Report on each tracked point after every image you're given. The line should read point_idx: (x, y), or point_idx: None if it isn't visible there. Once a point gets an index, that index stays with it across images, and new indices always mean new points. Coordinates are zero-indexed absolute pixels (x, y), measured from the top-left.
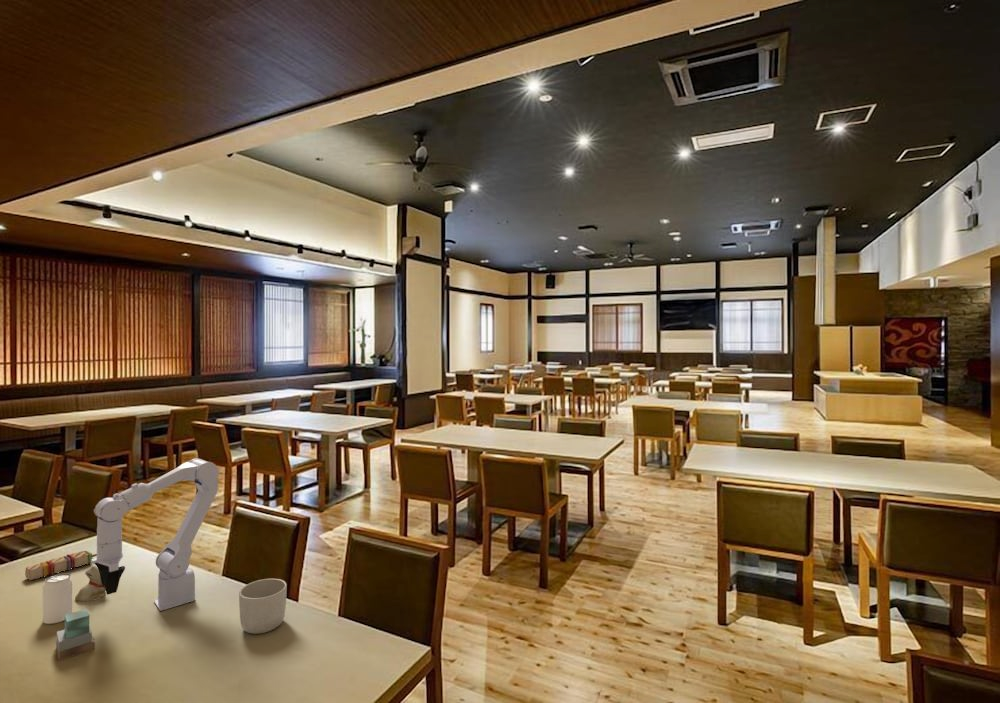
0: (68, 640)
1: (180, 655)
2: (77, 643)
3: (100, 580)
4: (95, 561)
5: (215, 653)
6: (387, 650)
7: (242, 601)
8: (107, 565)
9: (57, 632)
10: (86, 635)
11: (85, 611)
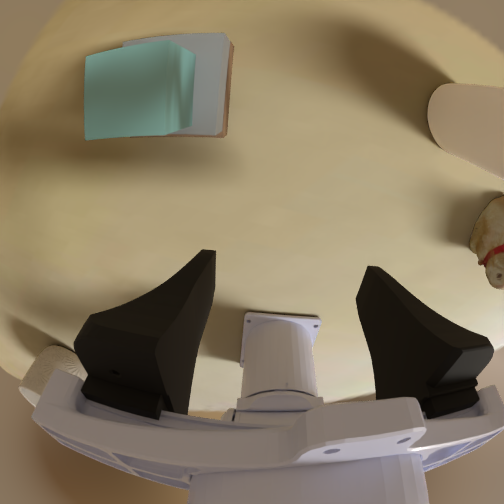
0: None
1: (29, 265)
2: None
3: (498, 266)
4: (296, 446)
5: (23, 297)
6: (8, 367)
7: (29, 381)
8: (80, 420)
9: (215, 34)
10: None
11: (133, 127)
